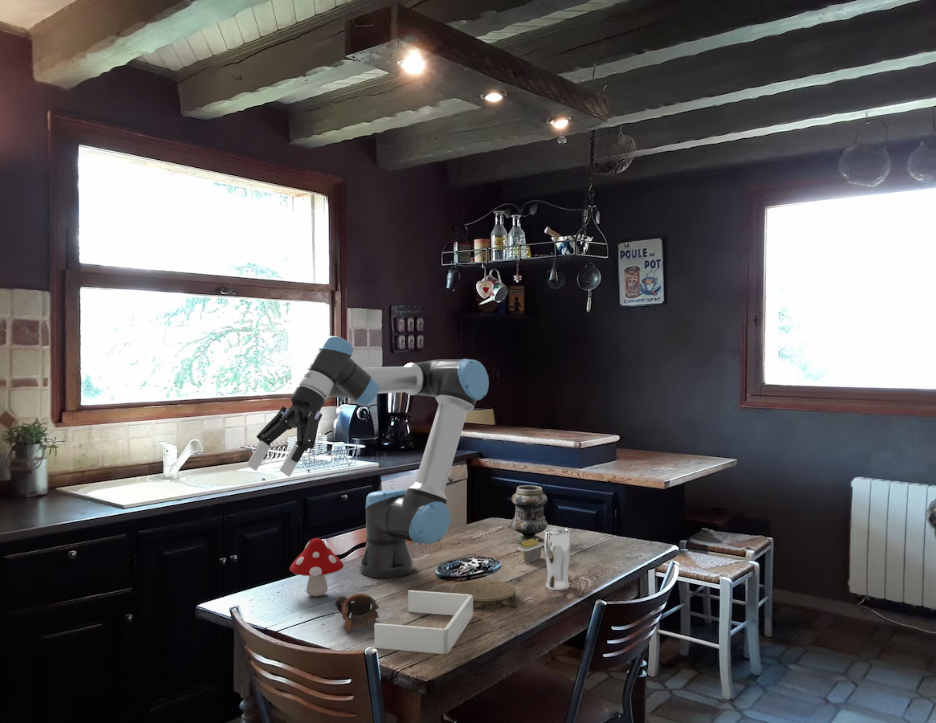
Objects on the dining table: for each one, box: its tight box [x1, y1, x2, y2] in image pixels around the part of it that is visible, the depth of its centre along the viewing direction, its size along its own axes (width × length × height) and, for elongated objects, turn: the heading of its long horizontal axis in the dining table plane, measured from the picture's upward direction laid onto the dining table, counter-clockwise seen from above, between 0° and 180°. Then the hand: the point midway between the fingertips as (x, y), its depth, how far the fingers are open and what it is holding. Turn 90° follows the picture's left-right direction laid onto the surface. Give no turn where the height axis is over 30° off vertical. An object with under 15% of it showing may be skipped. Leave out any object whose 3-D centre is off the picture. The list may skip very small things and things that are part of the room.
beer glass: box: [543, 527, 571, 591], centre depth 200 cm, size 7×7×15 cm
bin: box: [374, 589, 474, 655], centre depth 168 cm, size 24×16×5 cm
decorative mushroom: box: [289, 537, 344, 597], centre depth 194 cm, size 14×14×15 cm
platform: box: [517, 538, 544, 564], centre depth 225 cm, size 12×18×7 cm, turn 139°
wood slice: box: [452, 579, 516, 611], centre depth 190 cm, size 16×16×3 cm
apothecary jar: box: [510, 485, 548, 544], centre depth 249 cm, size 12×12×18 cm
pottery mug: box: [334, 593, 380, 633], centre depth 172 cm, size 12×10×8 cm
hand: (267, 470), depth 172 cm, fingers open, 13 cm apart
